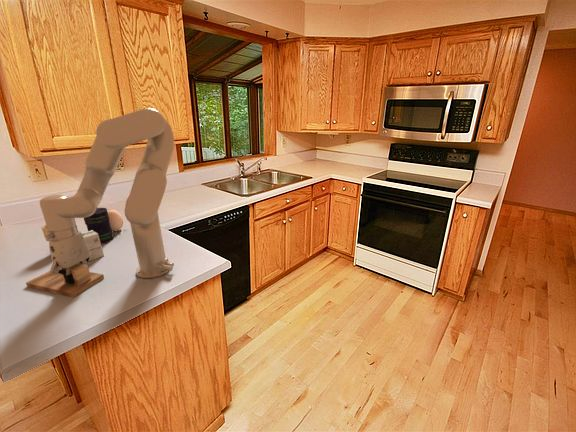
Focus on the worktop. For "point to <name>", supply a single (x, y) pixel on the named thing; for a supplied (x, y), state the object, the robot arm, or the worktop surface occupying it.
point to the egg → (115, 220)
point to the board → (61, 283)
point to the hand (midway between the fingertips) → (77, 279)
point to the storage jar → (100, 225)
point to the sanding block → (79, 274)
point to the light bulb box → (93, 244)
